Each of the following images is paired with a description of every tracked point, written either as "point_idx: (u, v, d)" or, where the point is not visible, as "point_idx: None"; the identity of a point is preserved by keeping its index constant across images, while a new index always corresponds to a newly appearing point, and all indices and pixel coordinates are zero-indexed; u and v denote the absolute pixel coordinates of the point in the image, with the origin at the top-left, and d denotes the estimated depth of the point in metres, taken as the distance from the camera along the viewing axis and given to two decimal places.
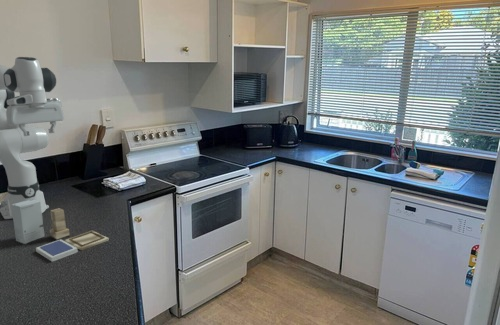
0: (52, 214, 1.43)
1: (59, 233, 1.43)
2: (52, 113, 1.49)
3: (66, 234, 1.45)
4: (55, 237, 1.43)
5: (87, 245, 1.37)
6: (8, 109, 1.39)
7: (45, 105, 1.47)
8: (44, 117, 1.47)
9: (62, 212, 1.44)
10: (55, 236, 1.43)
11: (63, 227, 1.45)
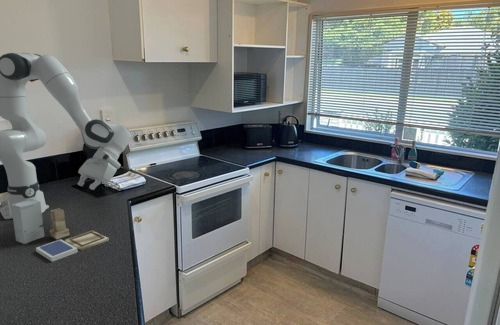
0: (52, 214, 1.43)
1: (59, 233, 1.43)
2: None
3: (66, 234, 1.45)
4: (55, 237, 1.43)
5: (87, 245, 1.37)
6: (112, 168, 1.49)
7: None
8: None
9: (62, 212, 1.44)
10: (55, 236, 1.43)
11: (63, 227, 1.45)
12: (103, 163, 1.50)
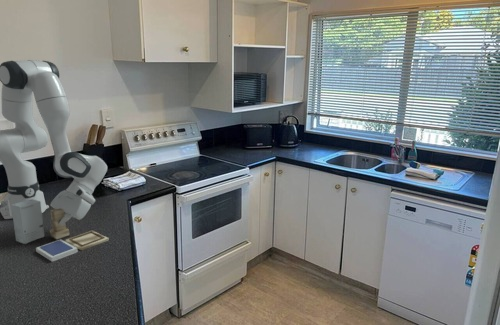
0: (52, 214, 1.43)
1: (59, 233, 1.43)
2: None
3: (66, 234, 1.45)
4: (55, 237, 1.43)
5: (87, 245, 1.37)
6: (85, 204, 1.43)
7: None
8: None
9: (62, 212, 1.44)
10: (55, 235, 1.43)
11: (63, 226, 1.45)
12: (76, 199, 1.43)
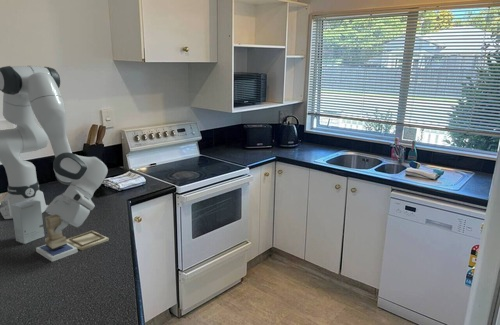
0: (47, 221, 1.30)
1: (55, 242, 1.30)
2: None
3: (63, 243, 1.32)
4: (51, 246, 1.30)
5: (87, 245, 1.37)
6: (84, 210, 1.30)
7: None
8: None
9: (58, 219, 1.31)
10: (51, 245, 1.30)
11: (59, 234, 1.32)
12: (74, 204, 1.30)
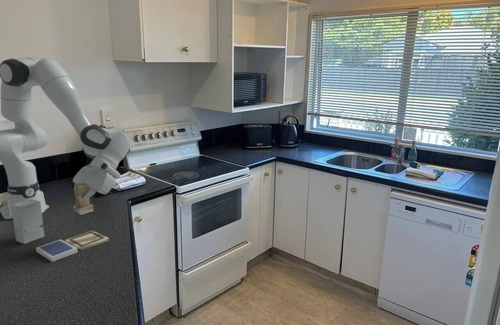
0: (76, 188, 1.36)
1: (83, 208, 1.37)
2: None
3: (90, 210, 1.39)
4: (79, 213, 1.37)
5: (87, 245, 1.37)
6: (111, 178, 1.36)
7: None
8: None
9: (86, 186, 1.37)
10: (79, 211, 1.36)
11: (87, 202, 1.38)
12: (101, 173, 1.37)
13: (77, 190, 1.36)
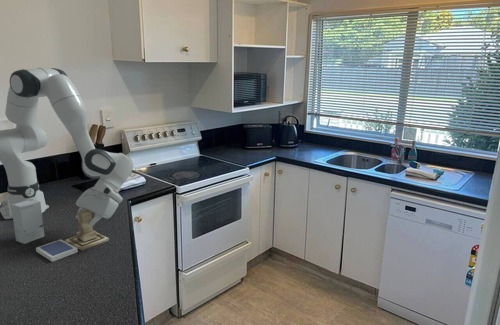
0: (79, 216, 1.39)
1: (86, 235, 1.39)
2: None
3: (93, 236, 1.42)
4: (82, 239, 1.39)
5: (87, 245, 1.37)
6: (113, 203, 1.39)
7: None
8: None
9: (89, 214, 1.40)
10: (83, 238, 1.39)
11: (90, 228, 1.41)
12: (104, 197, 1.39)
13: (80, 217, 1.39)
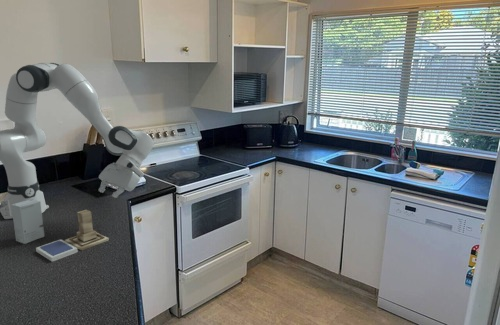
0: (79, 216, 1.39)
1: (86, 235, 1.39)
2: None
3: (93, 236, 1.42)
4: (82, 239, 1.39)
5: (87, 245, 1.37)
6: (136, 177, 1.48)
7: None
8: None
9: (89, 214, 1.40)
10: (83, 238, 1.39)
11: (90, 228, 1.41)
12: (127, 171, 1.48)
13: (80, 217, 1.39)
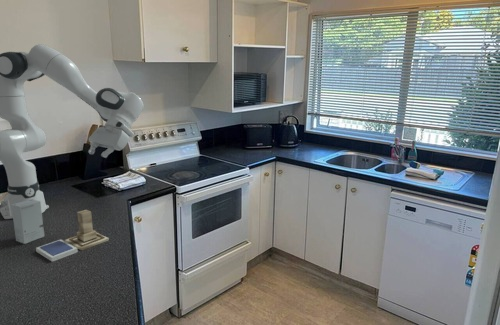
0: (79, 216, 1.39)
1: (86, 235, 1.39)
2: None
3: (93, 236, 1.42)
4: (82, 239, 1.39)
5: (87, 245, 1.37)
6: (125, 136, 1.44)
7: None
8: None
9: (89, 214, 1.40)
10: (83, 238, 1.39)
11: (90, 228, 1.41)
12: (116, 131, 1.45)
13: (80, 217, 1.39)
